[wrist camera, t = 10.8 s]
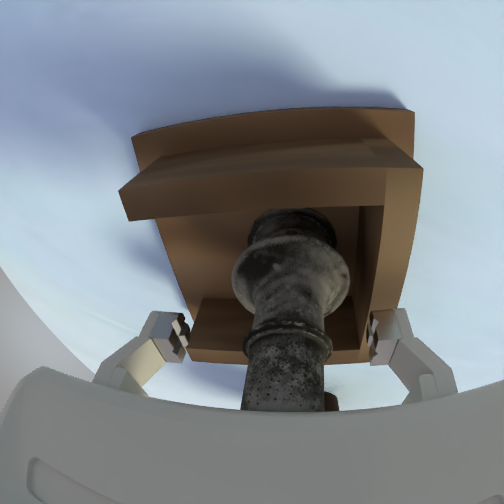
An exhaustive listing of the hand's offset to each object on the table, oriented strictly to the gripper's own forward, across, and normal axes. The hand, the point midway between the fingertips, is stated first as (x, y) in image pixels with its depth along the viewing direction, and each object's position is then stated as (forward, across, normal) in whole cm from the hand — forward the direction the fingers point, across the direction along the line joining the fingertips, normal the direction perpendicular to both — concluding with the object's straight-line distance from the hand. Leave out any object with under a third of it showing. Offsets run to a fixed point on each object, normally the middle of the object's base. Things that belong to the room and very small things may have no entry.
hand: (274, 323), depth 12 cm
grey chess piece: (+6, -1, 0) cm, 6 cm away
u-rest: (+7, 0, 0) cm, 7 cm away
